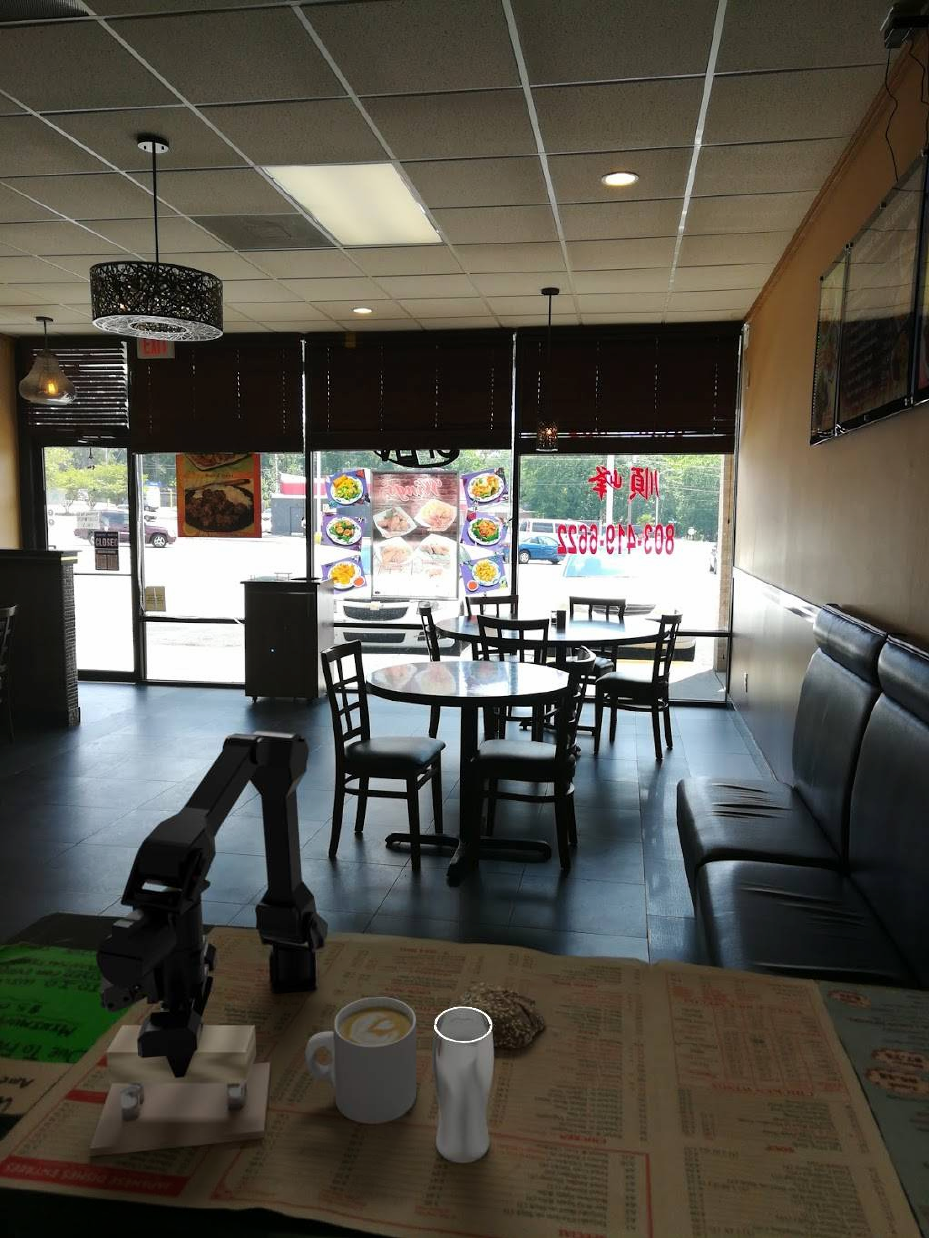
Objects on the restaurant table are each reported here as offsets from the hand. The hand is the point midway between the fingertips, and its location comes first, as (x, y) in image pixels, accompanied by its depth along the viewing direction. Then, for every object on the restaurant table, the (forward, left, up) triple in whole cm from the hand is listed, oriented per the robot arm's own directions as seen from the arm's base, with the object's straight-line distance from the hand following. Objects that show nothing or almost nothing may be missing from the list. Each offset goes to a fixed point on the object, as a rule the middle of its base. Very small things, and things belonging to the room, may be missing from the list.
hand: (183, 1060), depth 105 cm
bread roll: (-40, -12, -7) cm, 43 cm away
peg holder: (0, 0, -6) cm, 7 cm away
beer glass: (-32, +10, -7) cm, 34 cm away
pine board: (0, 0, -1) cm, 1 cm away
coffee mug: (-21, 0, -7) cm, 22 cm away
